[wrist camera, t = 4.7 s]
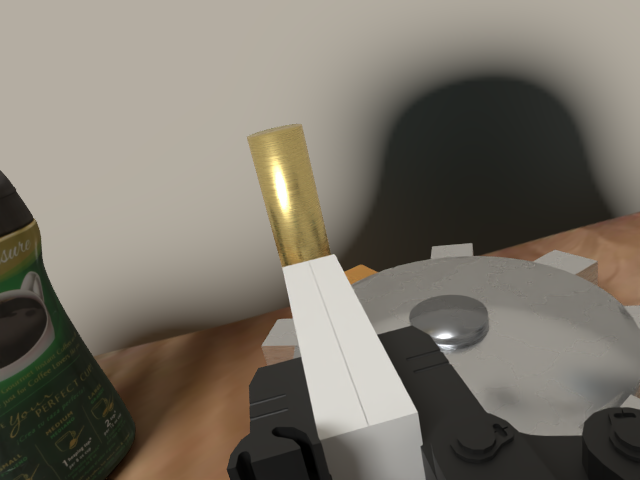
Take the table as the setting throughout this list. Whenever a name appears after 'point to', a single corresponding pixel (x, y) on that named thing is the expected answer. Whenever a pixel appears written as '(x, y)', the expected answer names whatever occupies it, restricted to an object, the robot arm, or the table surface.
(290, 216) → the sprocket
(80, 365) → the coffee jar
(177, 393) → the table surface
